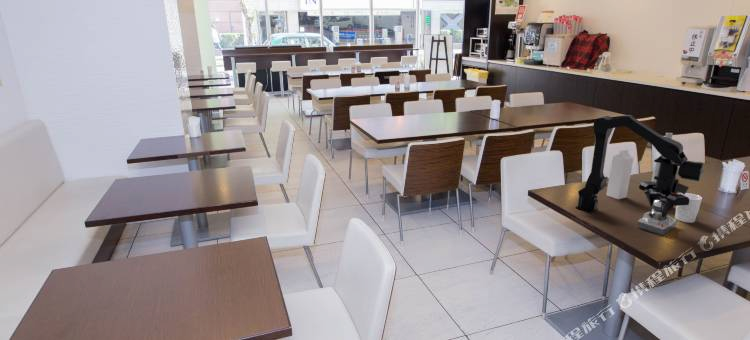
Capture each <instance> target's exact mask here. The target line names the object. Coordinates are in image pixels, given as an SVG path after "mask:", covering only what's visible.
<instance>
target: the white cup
mask: <svg viewBox="0 0 750 340" xmlns="http://www.w3.org/2000/svg"><path fill="white" fill-rule="evenodd" d="M678 194H682V195H684V194H683V193H680V192H678ZM684 196H686V197H688V198H689V199H690V201H689V205H679V206H675V214H674V219H676V220H677V221H679V222H682V223H690V224H691V223H695V222H696V219H697V217H698V214H699V210H700V207H701V203H702V200H703V197H702V196H700V195H698V194H696V193H695V194H694V193H691V192H690V193H689V192H686V193H685V195H684Z"/></svg>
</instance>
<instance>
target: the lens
mask: <svg viewBox="0 0 750 340" xmlns="http://www.w3.org/2000/svg"><path fill="white" fill-rule="evenodd" d="M662 200H665V199H661V198H655V199H654V201H653V205H652V209H651V211H650V212H651V218H655V219H658V220H666V217H662V203H661V201H662Z"/></svg>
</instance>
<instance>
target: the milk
mask: <svg viewBox="0 0 750 340" xmlns="http://www.w3.org/2000/svg"><path fill="white" fill-rule="evenodd" d="M629 151H630V150H629V149H628V148H627V149H623V150H622V149H621V150H619V152H618V154H615V155H612V159H611V164H610V165H611V166H610V171H609V175H608V182H607V183H608V184H607V187H606V196H607V197H610V198H613V199H615V200H622V199H625V198H627V197H628V191H629V186H630V180H631V175H632V170H633V169H632V167H633V165H634V164H633V163H634V156H633V155H631V153H630V152H629Z"/></svg>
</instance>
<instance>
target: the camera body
mask: <svg viewBox="0 0 750 340" xmlns="http://www.w3.org/2000/svg"><path fill="white" fill-rule="evenodd" d="M677 222H678V220H677V219H676V218H673V217H672V216H671V215H669V214H667V216H666V220H658V219H655V218H651V211H647V212H645V213H643V216H642V217H641V218H639V219H638V220H637V226H636V228H638V229H641V230H643V231H644V230H645V231H648V232H650V233H653V234H658V235H661V236H664V235H666V234H667V233H670V231H672V230H673V229H675V228H676V226H677Z"/></svg>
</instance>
